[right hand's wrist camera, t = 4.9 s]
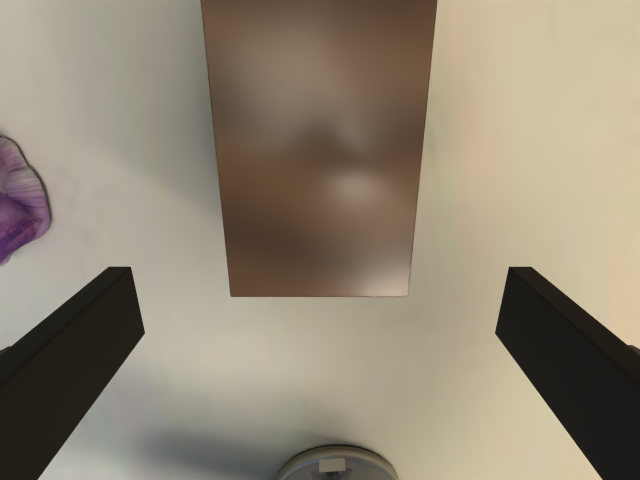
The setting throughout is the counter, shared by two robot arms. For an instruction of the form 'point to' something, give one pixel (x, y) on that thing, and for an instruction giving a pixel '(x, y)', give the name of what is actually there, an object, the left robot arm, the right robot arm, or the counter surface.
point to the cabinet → (319, 141)
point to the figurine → (19, 202)
